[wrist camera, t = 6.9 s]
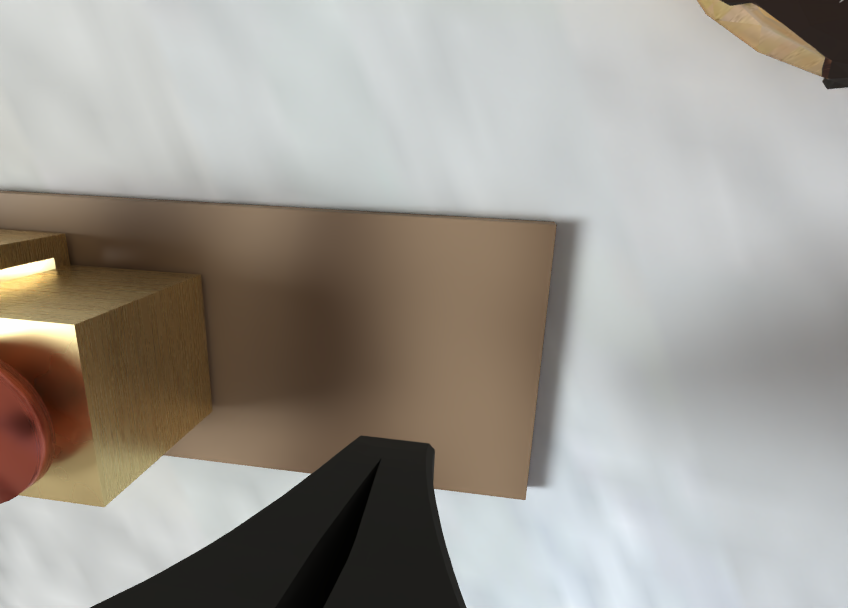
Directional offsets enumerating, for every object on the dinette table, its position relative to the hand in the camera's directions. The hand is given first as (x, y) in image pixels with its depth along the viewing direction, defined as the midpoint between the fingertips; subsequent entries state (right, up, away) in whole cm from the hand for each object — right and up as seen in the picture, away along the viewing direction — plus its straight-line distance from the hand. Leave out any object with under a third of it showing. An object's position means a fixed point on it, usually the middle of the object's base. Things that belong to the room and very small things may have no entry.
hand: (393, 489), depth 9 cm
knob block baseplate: (-8, +2, +7) cm, 11 cm away
